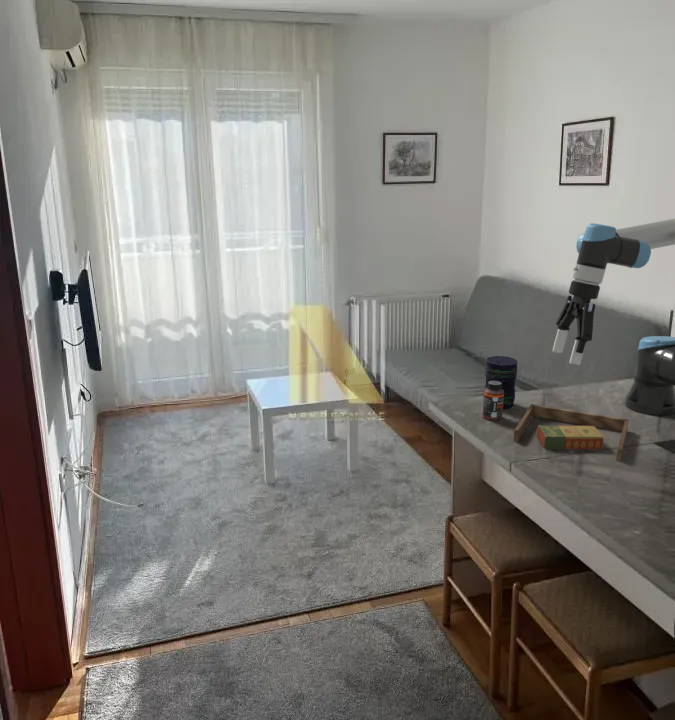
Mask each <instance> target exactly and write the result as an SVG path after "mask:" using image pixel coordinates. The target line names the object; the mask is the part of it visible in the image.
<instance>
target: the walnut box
mask: <svg viewBox="0 0 675 720" xmlns="http://www.w3.org/2000/svg"><path fill="white" fill-rule="evenodd" d="M532 416H533V417H534V416H538V417H537V418H540V417H543V418H542V419H546V418H547V420H554V421H559V422H565V423H571V424H577V425H581V426H594V427H595V428H596V427H597V428H602V429H607V430H612V431H613V430H614V431H619V432H621V434H620V438H619V442H618V446H617V452H616V459H615V460H616V461H618V462H620V461H621V459H622V456H623V451H624V447H625V442H626V438H627V435H628V434H627V433H628V428H629V421H630V419H628V418H627V419H626V418H621V417H615V416H608V415H604V414H603V415H602V414H595V413H589V412H583V411H577V410H571V409H563V408H557V407H552V406H551V407H550V406H545V405H544V406H543V405H539V404H533V403H532V404H530V405H529V407H528V408H527V410H526V412H525V413H524V415H523V417H522V418H521V419H520V421H519V423H517V425H516V426H515V429H514V433H513V442H514V441H516V442H515V443H518V442H517V441H519V440H520V438H521V437H522V435H523V433H524V432H525V430H526V429H527V427H528V426H529V424H530V422H531V421H532V419H533V417H532ZM531 418H532V419H531ZM528 423H529V424H528ZM526 426H527V427H526ZM523 431H524V432H523ZM520 436H521V437H520ZM621 455H622V456H621Z"/></svg>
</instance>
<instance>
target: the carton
mask: <svg viewBox="0 0 675 720" xmlns="http://www.w3.org/2000/svg"><path fill="white" fill-rule="evenodd" d="M536 430H537V431H536V439H537V438H538V439H537V440H538V442H539V441H540V442H539V443H540V445H541V446H542V448H543V449H544V448H545V449H546V450H549V449H551V450H603V449H604V447H603V446H604V435H602V434H601V432H600V431H599V430H598V429H597V428H596V427H594V426H588V425H543V424H542V425H538V426H537V429H536ZM545 449H544V450H545Z"/></svg>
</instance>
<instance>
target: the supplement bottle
mask: <svg viewBox="0 0 675 720" xmlns="http://www.w3.org/2000/svg"><path fill="white" fill-rule="evenodd" d="M501 387H502V383H501V382H499V381H489V382H488V388H486V389H485V391H484V390H483V402H484V403H483V405H482V417H483V418H484V419H486V420H490V421H498V420H501V419H502V418H503V411H504V410H503V401H504V390H503V389H502V388H501Z"/></svg>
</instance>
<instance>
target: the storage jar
mask: <svg viewBox="0 0 675 720" xmlns="http://www.w3.org/2000/svg"><path fill="white" fill-rule="evenodd" d="M485 362H486V363H485V369H484V371H485V373H484V375H485V385H484V389H483V392H484V391H485V389H486V388H488V382H489V381H499V382H501V383H502V387H501V388H502V389H503V390H504V401H503V409H508V410H511V409H513V408H514V407H513V406H515V403H514V402H515V400H516V399H515V397H516V389H515V387H516V379H517V377H518V376H517V373H518V360H517V359H516V358H513V357H510V356H502V355H495V356H489V357H487V358H486V361H485ZM483 403H484V401H483ZM512 407H513V408H512ZM510 408H511V409H510Z"/></svg>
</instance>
